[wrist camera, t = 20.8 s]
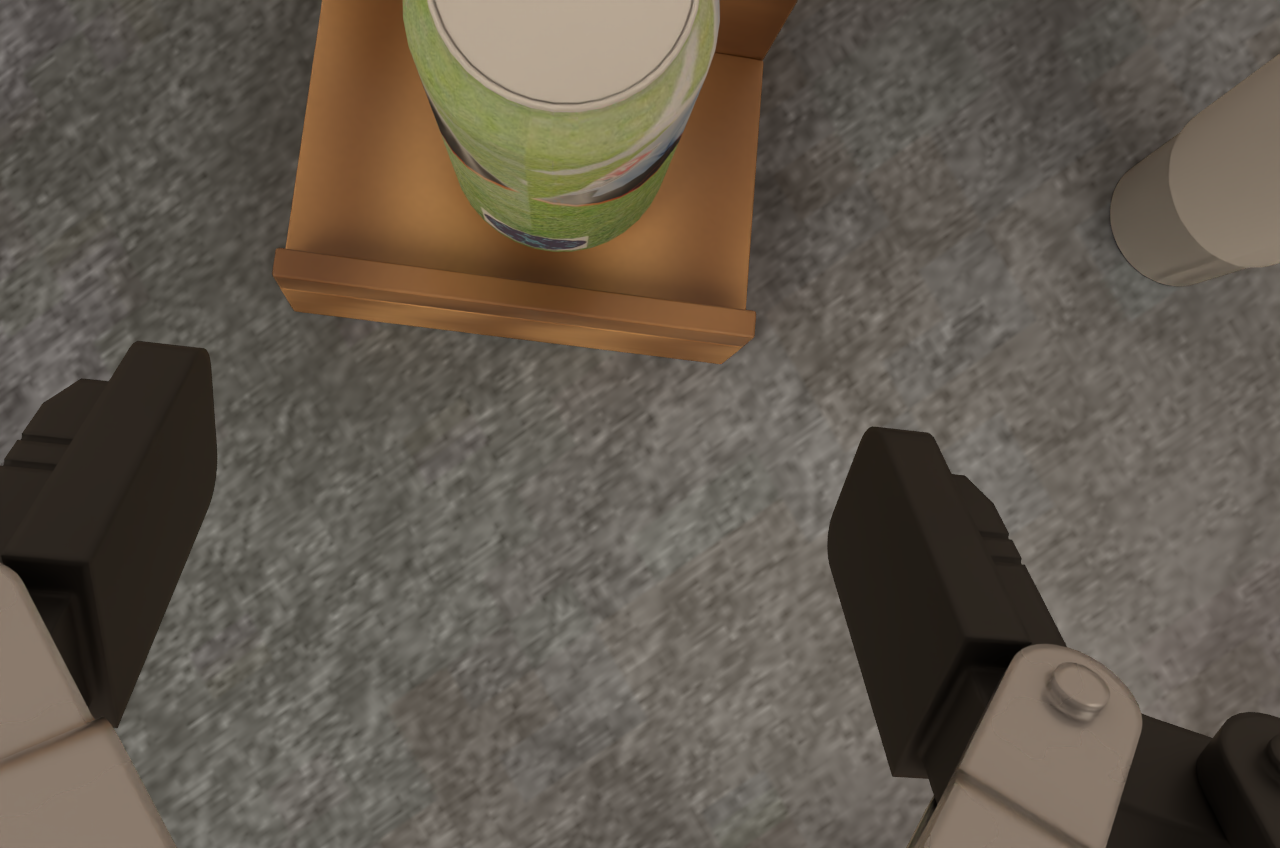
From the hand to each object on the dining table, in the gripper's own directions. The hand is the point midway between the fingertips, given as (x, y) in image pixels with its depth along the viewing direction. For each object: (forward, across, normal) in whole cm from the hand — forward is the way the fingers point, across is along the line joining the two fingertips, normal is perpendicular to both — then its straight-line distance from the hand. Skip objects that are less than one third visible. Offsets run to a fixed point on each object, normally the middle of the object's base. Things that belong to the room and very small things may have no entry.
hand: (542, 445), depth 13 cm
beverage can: (+18, 0, +4) cm, 19 cm away
